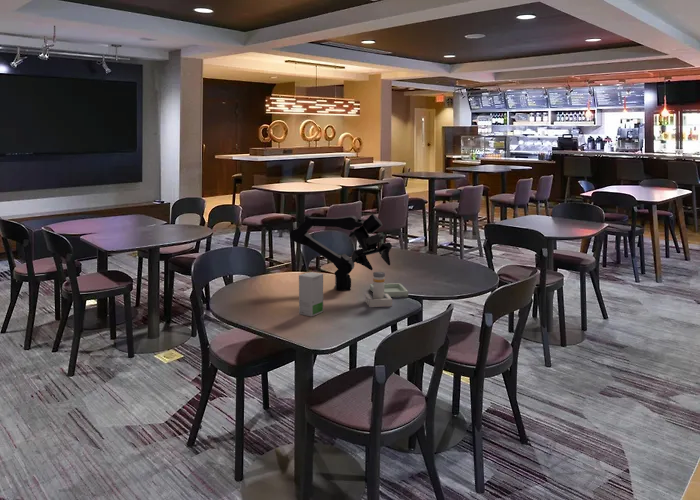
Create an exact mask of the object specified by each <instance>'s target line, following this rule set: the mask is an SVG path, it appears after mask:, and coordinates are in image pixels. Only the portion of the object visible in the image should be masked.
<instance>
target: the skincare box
mask: <svg viewBox="0 0 700 500" xmlns="http://www.w3.org/2000/svg"><path fill="white" fill-rule="evenodd" d="M298 308H299V309H298V314H299V315H301V316H305V317H307V316H308V317H314V316H316V315H319V314H321V313H323V312H324V273H321V272H320V273H319V272H312V271H310V272H306V273H302V274H299V275H298Z"/></svg>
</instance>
